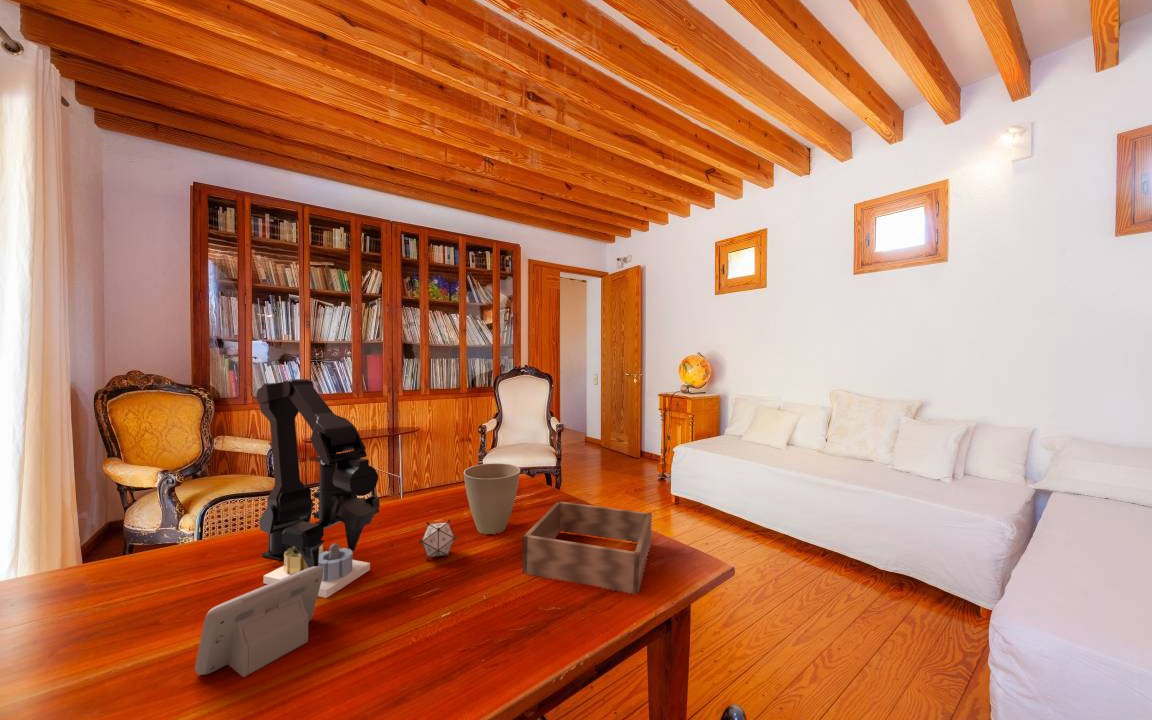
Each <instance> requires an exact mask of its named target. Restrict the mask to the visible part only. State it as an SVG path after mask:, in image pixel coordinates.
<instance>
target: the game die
mask: <svg viewBox="0 0 1152 720" xmlns="http://www.w3.org/2000/svg"><path fill="white" fill-rule="evenodd" d="M450 522H451V518H449V519H448V520H447V521H446V522H443V521H442V522H434V523H430V522H429V521H427V520H426V526H427V527H426V529H425V531H424V534H423V536H422V539H419V540H418V543H419V544H421V545H422V546H423V549H424V551H425V554H426V558H425V561H428V559H429V558H433V557H441V556H442V557H444V556H447V558H451V555H450V554H449V553H450V551H451V548H452V545H453V544H454V541H455V540H457V539H458V536H456V535H454V533H453V531H452V528H451V526H450Z"/></svg>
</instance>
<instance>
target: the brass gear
mask: <svg viewBox="0 0 1152 720" xmlns="http://www.w3.org/2000/svg"><path fill="white" fill-rule="evenodd" d="M323 552H324V545H323V544H322V545H321V546H320V547H319V554H321V553H323ZM283 566H284V571H285V572H286V573H290V574H295V573H297V572H300V571H302V570H305V569H307V568H309V567H308V565H307V564H306V562H305V560H304V559H303V557H302V555H301V554H299V551H298V550H297V549H296V547H295V546H293V547H290V548H289V549H288V550H286V551H285V553H284V560H283Z"/></svg>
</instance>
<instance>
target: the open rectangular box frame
mask: <svg viewBox="0 0 1152 720" xmlns="http://www.w3.org/2000/svg"><path fill="white" fill-rule="evenodd" d="M652 517H653V515H652V512H651V513H650V512H645V511H635V510H628V509H619V508H611V507H605V506H596V505H588V504H582V503H575V502H574V503H573V502H566V501H559V500H557V502H555V503H554V504H553V506H552V507H550V509H548V511H547V512H546V513H544V515H543V516H542V517H540V519H539V520H537V522H536V523H535V524H534V525H533V526H532V527H531V528H530V529H528V531H526V532H525V534H524V535H523V536H522V537H523V538H522V541H523V542H522V574H523V573H526V574H525V575H529V574H530V576H534V575H535V576H536V577H540V578H545V579H550V578H552V580H555V579H560V580H559V581H561V580H565V581H564V582H566V581H570V582H569V583H572V582H576V583H575V584H577V583H582V584H588V585H595V586H599V587H603V588H602V589H604V588H607V589H606V590H609V589H612V590H611V591H615V590H617V591H616V592H620V591H622V593H625V592H627V594H631V593H633V594H632V595H636V594H638V593H639V592H640V590H639V589H641V586H642V582H641V581H642V580H643V578H642V576H643V577H644V574H643V572H644V573H645V570H644V568H645V569H646V566H645V564H646V565H647V562H646V560H647V561H648V558H647V556H648V557H649V554H648V552H649V553H650V550H649V548H650V549H651V546H650V544H651V545H652V520H653V519H652ZM559 531H564V532H570V533H578V534H584V535H591V536H598V537H605V538H612V539H619V540H626V541H632V542H638V544H637V545H636V548H635V550H634V551H633V550H632V551H631V550H626V549H620V548H612V547H607V546H601V545H594V544H587V543H581V542H575V541H568V540H562V539H556V538H555V539H554V537H555V536H556V535H557V533H558V532H559ZM557 536H558V535H557ZM582 584H581V585H582ZM588 585H587V586H588ZM640 585H641V586H640ZM638 595H639V594H638Z"/></svg>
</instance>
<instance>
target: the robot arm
mask: <svg viewBox="0 0 1152 720" xmlns="http://www.w3.org/2000/svg"><path fill="white" fill-rule="evenodd" d="M256 400H257V403H258V405H259V409H260V413H261V414H262V415H263V416H264V417H265V418H266V419H267V420H268V421H269V425H270V438H271V440H270V441H271V448H272V449H271V451H272V463H273V465H272V466H273V474H274V475H273V477H274V486H273V488H272V489H271V492H270V493H269V495H268V496H267V507H266V508H265V509H264V512H263V513H262V515H261V517H259V519H258V523H259V530H260V531H262V532H264V533H266V534H268V546H267V547H268V549H267V551H263V552H262V553H261V557H265V558H269V559H275V560H278V561H284V553H285V551H286V550H288V549H289V548H290V547H293V546H295V547H296V549H297V550H298V551H299V552H300V554H301V555H302V557H303V559H304V560H305V562H306V564H307V565H308V567H309V568H310V567H314V566H318V561H319V547H320V546H321V545H323V543H324V542H325V540H324V539H323V537H324V535H325V534H324V533H325V531H324V530H326V529H328V528H331V527H333V526H335V525H337V524H339V523H341V522H342V523H343V524H344V529H345V537H346V543H347V547H348V548H347V549H351V550H352V553H354V552H355V551H356V548H357V545H358V542H359V540H360V537H361V535H362V531H363V530H364V527H365V526H367V525H370V524H372V521H373V519H374V517H375V515H376V514H379V513H380V507H381V506H380V497H379V496H378V495H376V494H373V495H371V496H369V497H367V498H365V497H363V496H367V495H369V494H371V492H372V491H374V489H375V488H376V486H377V485H378V481H379V474H378V472H377V470H376V468H375V467H373V466H371V465H370V461H369V459H367V456H368V455H367V451H366V449H367V448H366V446H365V444H364V442H363V440H362V438H361V436H360V433H359V431H358V429H357V428H356V426H355V425H354V424H353V423H352V422H351V421H349V420H348V419H347V418H345V417H343V416H340V415H337V414H335V413H334V412H333V411H332V409H331V408H330V407H329V405H328V404H327V403H326V401H325V400H324V399H323V398H322V396H321V395H320V394H319V392H318V391H317V390H316V389H315V387H314V383H313V381H312V380H311V379H308V378H295V379H293V378H292V379H291V378H289V379H287V380H283V381H282V382H265V383H263V384H262V386H261V387H260V388H258V389H257V390H256ZM298 414H300V415H301V416H302V417H303V419H304V420H305V422H306V423H307V425H308V426H309V427H310V429H311V431H312V432H311V435H310V441H311V443H312V447H313V449H314V451H315V452H316V455H318V456H316V457H315V462H316V463H318V464H319V471H318V472H319V473H318V476H319V478H318V480H319V481H318V491H315V492H314V493H313V498H315V499H318V511H315V512H313V509H314V502H313V501H314V500H313V498H312V489H311V487H310V486H306V484H304V483H303V482H302V480H301V473H300V463H299V462H300V461H299V451H298V440H297V437H298V436H297V429H296V428H297V426H296V417H297V416H298ZM312 513H313V518H314V519H318V521H316V522H311V517H312Z"/></svg>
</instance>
